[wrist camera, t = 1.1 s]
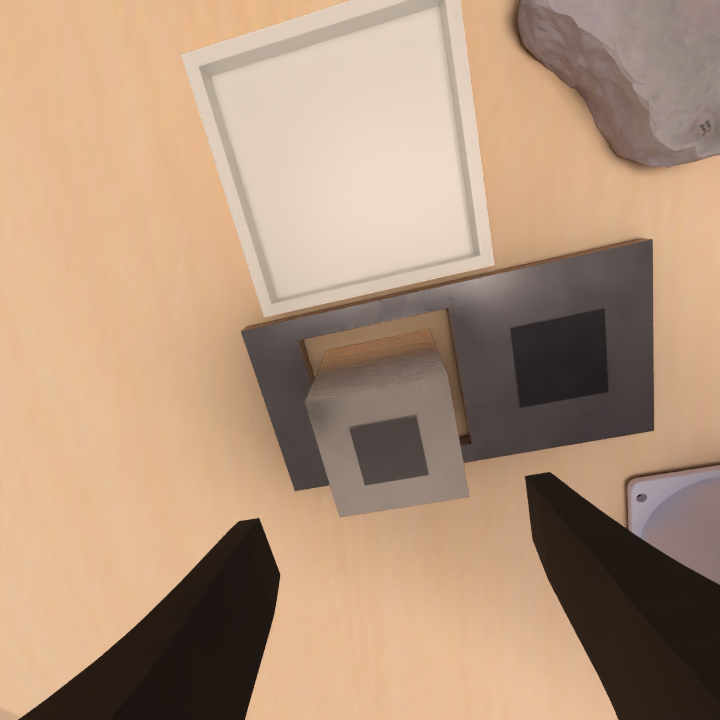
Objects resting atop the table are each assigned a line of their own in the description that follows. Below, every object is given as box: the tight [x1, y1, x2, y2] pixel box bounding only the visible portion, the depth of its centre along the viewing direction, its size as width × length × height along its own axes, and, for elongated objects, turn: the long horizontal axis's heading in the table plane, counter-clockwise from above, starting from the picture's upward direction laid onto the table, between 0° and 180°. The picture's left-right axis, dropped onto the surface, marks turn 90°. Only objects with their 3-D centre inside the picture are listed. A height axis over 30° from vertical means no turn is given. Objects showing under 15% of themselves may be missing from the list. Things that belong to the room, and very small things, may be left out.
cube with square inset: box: [305, 329, 469, 517], centre depth 17 cm, size 5×5×6 cm
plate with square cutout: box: [241, 239, 654, 491], centre depth 19 cm, size 9×18×1 cm, turn 103°
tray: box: [181, 0, 494, 317], centre depth 16 cm, size 10×10×2 cm
